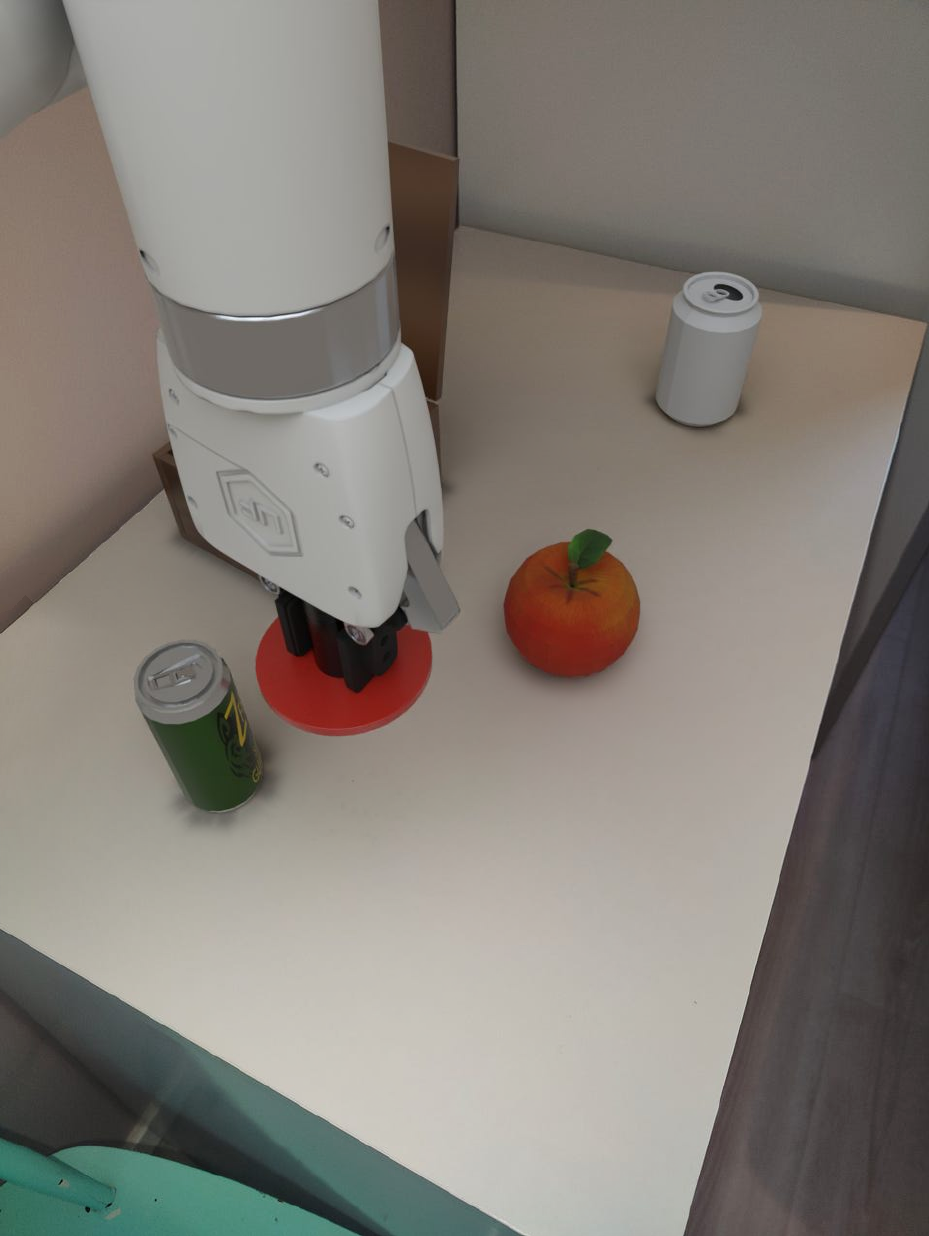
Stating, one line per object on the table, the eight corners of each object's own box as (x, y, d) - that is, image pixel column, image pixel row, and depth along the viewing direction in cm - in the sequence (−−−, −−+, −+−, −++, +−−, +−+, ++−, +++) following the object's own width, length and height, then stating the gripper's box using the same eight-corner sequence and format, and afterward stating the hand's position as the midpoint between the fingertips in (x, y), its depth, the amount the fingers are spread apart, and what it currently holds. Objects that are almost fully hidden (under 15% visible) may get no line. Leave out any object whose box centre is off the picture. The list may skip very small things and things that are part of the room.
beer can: (194, 829, 57) (140, 728, 48) (175, 762, 61) (120, 655, 51) (275, 797, 59) (238, 693, 50) (252, 733, 62) (213, 624, 53)
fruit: (474, 652, 66) (473, 559, 58) (553, 578, 71) (562, 483, 63) (579, 724, 62) (594, 635, 54) (656, 641, 67) (679, 547, 59)
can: (752, 412, 83) (787, 294, 74) (693, 443, 81) (720, 324, 71) (696, 372, 87) (721, 255, 78) (637, 400, 85) (656, 283, 75)
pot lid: (238, 730, 41) (208, 649, 36) (278, 590, 46) (256, 504, 42) (421, 743, 41) (415, 663, 36) (441, 601, 46) (437, 514, 41)
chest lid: (453, 160, 58) (460, 158, 59) (282, 110, 64) (290, 108, 64) (435, 401, 70) (441, 398, 71) (293, 342, 75) (299, 339, 76)
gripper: (18, 278, 30) (165, 627, 44) (414, 467, 24) (435, 799, 38) (185, 189, 34) (270, 536, 48) (561, 332, 28) (530, 679, 42)
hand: (343, 650), depth 43 cm, fingers closed on pot lid, 2 cm apart
